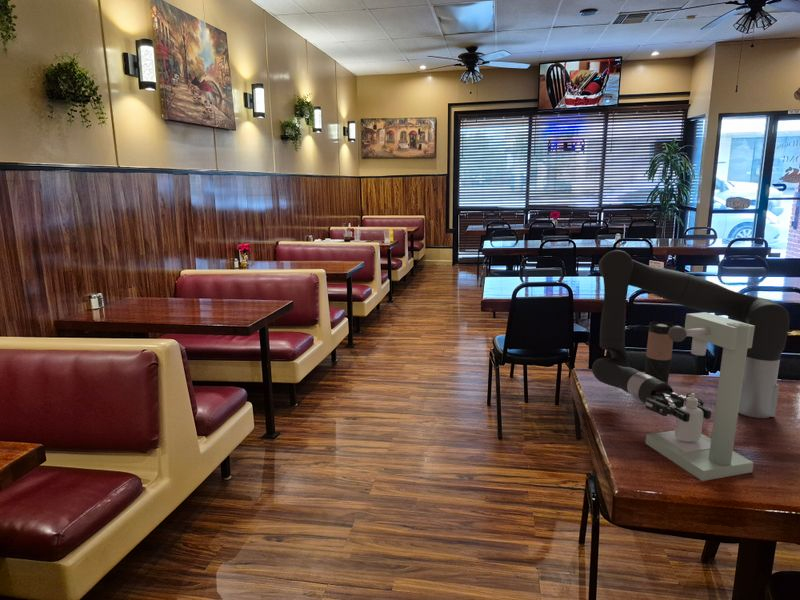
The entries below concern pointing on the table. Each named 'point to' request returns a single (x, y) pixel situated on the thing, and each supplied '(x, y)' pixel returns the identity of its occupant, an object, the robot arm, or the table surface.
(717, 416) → the arbor press
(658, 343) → the travel mug
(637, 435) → the table surface
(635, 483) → the table surface
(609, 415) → the table surface
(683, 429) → the eye dropper bottle
